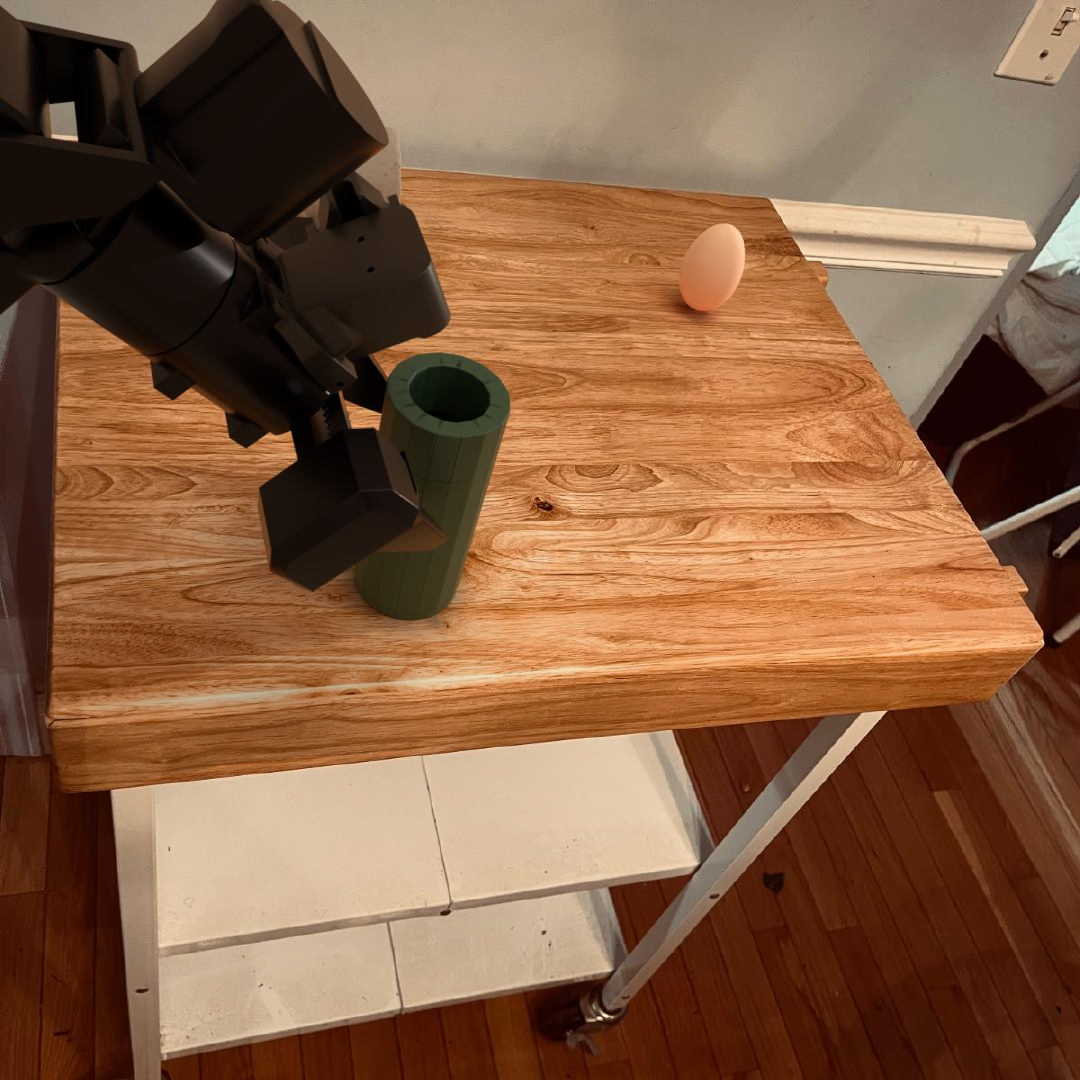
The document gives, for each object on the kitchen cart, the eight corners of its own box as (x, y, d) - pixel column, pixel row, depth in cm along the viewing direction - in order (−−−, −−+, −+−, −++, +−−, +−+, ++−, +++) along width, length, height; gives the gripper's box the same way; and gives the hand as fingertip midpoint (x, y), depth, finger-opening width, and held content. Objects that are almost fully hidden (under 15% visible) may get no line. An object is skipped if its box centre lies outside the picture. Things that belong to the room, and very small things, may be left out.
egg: (734, 322, 85) (771, 242, 79) (687, 328, 83) (721, 247, 77) (704, 285, 87) (737, 206, 82) (657, 290, 85) (688, 209, 80)
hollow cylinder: (350, 614, 58) (384, 426, 47) (357, 533, 61) (390, 343, 51) (456, 625, 59) (512, 444, 49) (457, 545, 63) (508, 362, 52)
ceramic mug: (276, 189, 81) (282, 95, 76) (383, 199, 84) (397, 108, 78) (285, 277, 75) (292, 181, 69) (400, 285, 78) (417, 193, 72)
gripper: (398, 331, 34) (613, 530, 46) (300, 41, 45) (495, 265, 57) (143, 513, 37) (409, 656, 49) (109, 200, 47) (334, 380, 60)
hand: (416, 472), depth 53 cm, fingers open, 9 cm apart
